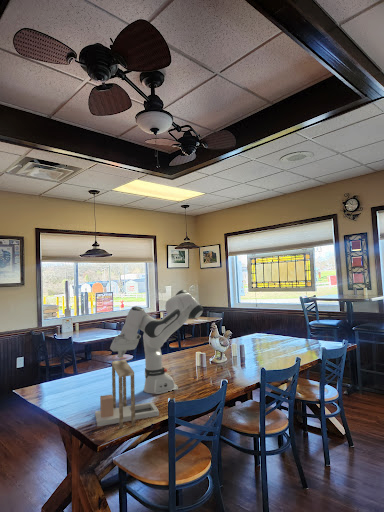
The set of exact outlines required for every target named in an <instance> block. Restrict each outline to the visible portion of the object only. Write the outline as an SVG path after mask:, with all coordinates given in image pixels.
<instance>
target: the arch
mask: <svg viewBox="0 0 384 512" xmlns="http://www.w3.org/2000/svg"><path fill="white" fill-rule="evenodd" d="M116 374H117V376H118V405H119V407H118V408H119V423H118V424H119V429H123V428H124V422H123V407H125V406H128V405H127V377H130V406H131V421H130V422H131V426H132V427H135V426H136V420H135V405H136V401H135V400H136V399H135V398H136V397H135V391H136V390H135V371H134V370H133V369H132V367H131V366H130V364H129V363H128V362H127V360H126V359H122V360H111V376H112V377H111V383H112V385H111V387H112V388H111V389H112V396H113V408H117V392H116V388H117V387H116V384H117V383H116Z"/></svg>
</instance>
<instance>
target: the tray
mask: <svg viewBox="0 0 384 512" xmlns="http://www.w3.org/2000/svg"><path fill="white" fill-rule="evenodd" d="M94 412H95V413H94V418H95V420H96V426H97V427H104V426H109V425H115V424H120V423H119V407H116V408H113V415H114V416H108V417H101V410H96V411H94ZM159 416H160V411H159V409H158V407H157V406H156V404H155V403H154V402H153V401H151V402H144V403H138V404H135V421H136V420H142V419H149V418H154V417H159ZM148 417H149V418H148ZM124 422H131V405H127V406H125V407H123V423H124Z"/></svg>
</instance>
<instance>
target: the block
mask: <svg viewBox="0 0 384 512" xmlns="http://www.w3.org/2000/svg"><path fill="white" fill-rule="evenodd" d="M99 397H100V398H99V399H100V405H99V407H100V411H101V417H108V416H114V415H113V396H112V394H111V393H110V394H105V395H100V396H99Z"/></svg>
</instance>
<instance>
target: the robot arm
mask: <svg viewBox="0 0 384 512" xmlns="http://www.w3.org/2000/svg"><path fill="white" fill-rule="evenodd" d="M165 311H166V313H167V314H166V315H165V316H163V317H162V318H161V319H156V318H154V317H153V316H151V315H150V314H148V313H147V311H145V308H143V307H141V306H137V305H136V306H132V307H131V308H130V309H129V311H128V313H127V315H126V318H125V320H124V321H125V323H124V324H123V325H122V328H121V332H120V333H119V334H117V335H116V336H115V337H114V339H113V340H112V342H111V344H110V347H109V350H111V351H112V352H114V353H115V352H117V358H118V359H119V358H120V359H121V358H123V357H124V355H125V354H126V353H127V351H131V350H133V351H134V350H135V349H136V348H137V346H138V344H139V341H140V339H141V337H142V338H143V339H142V340H143V348H144V349H143V350H144V357H145V358H144V359H145V361H144V362H145V368H144V378H145V381H144V387H143V392H144V393H146V394H154V395H160V394H165V393H169V392H168V391H170V392H173V391H172V390H174V391H177V390H178V389H179V386H178V385H177V384H176V383H175V381H174V379H173V377H172V376H171V375H169V374H168V373H167V372H168V369H167V368H166V367H163V354H162V350H161V348H162V347H164V343H166V342H167V340H169V338H170V336H171V335H172V334H174V333H175V332H176V331H178V329H180V328H181V327H182V326H183V325H184V324H185V323H186V322H187V321H188V320H196V319H198V318H199V317H200V316H202V314H203V313H204V308H203V306H202V304H200V302H199V301H198V300H197V299H196V298H195V297H194V296H193V295H192V294H191V293H189V291H187V290H186V289H180V290H179V291H177V292H176V294H175V295H174V296H171V297H169V298H168V300H167V301H166V303H165ZM139 330H140V331H142V332H143V335H142V336H141V334H139V333H138V332H139Z"/></svg>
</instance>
